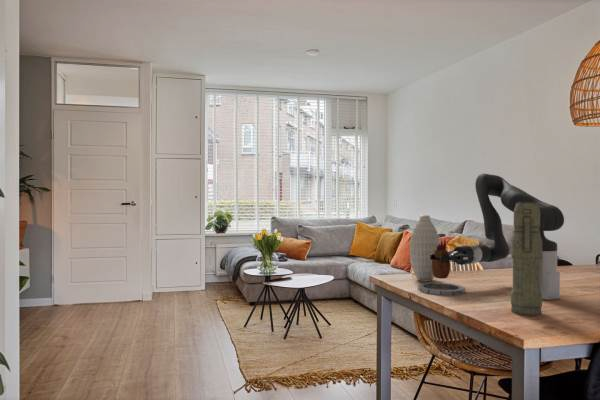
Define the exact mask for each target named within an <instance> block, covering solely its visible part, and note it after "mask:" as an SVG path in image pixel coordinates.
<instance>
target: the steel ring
mask: <svg viewBox="0 0 600 400" xmlns="http://www.w3.org/2000/svg"><path fill="white" fill-rule="evenodd" d="M433 288H443V289H433ZM445 289H446V290H445ZM448 289H449V290H448ZM417 290H418V291H419V292H420V293H424V294H427V295H435V296H436V295H437V296H456V295H457V296H458V295H463V294H465V292H466V288H465V286H462V285H461V284H460V285H459V284H455V283H448V282H423V283H420V284H418V285H417Z"/></svg>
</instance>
